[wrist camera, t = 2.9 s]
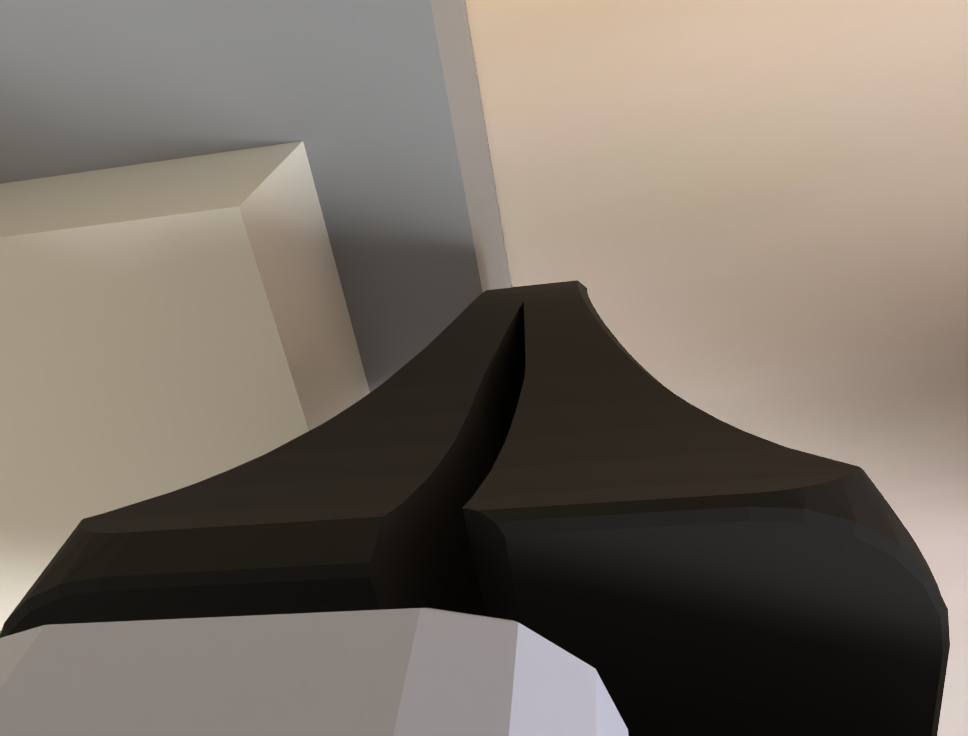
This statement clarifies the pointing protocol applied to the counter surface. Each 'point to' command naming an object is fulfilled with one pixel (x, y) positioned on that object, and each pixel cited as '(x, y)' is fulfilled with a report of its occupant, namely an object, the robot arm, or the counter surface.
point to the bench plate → (283, 129)
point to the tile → (158, 336)
